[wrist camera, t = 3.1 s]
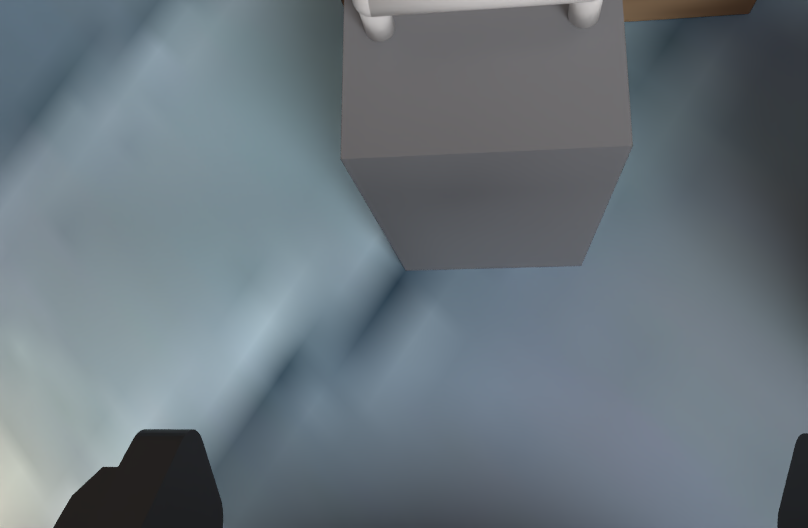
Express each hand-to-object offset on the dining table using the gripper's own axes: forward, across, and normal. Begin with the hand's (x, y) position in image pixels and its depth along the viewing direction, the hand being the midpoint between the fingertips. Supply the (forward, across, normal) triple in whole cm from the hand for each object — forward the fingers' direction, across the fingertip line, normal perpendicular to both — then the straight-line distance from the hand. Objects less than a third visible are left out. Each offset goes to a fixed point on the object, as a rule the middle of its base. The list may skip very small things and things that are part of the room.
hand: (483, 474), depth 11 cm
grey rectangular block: (+15, 0, +3) cm, 15 cm away
